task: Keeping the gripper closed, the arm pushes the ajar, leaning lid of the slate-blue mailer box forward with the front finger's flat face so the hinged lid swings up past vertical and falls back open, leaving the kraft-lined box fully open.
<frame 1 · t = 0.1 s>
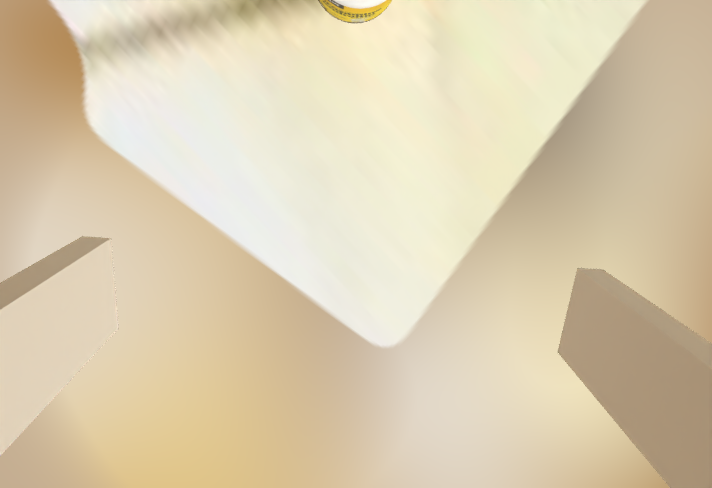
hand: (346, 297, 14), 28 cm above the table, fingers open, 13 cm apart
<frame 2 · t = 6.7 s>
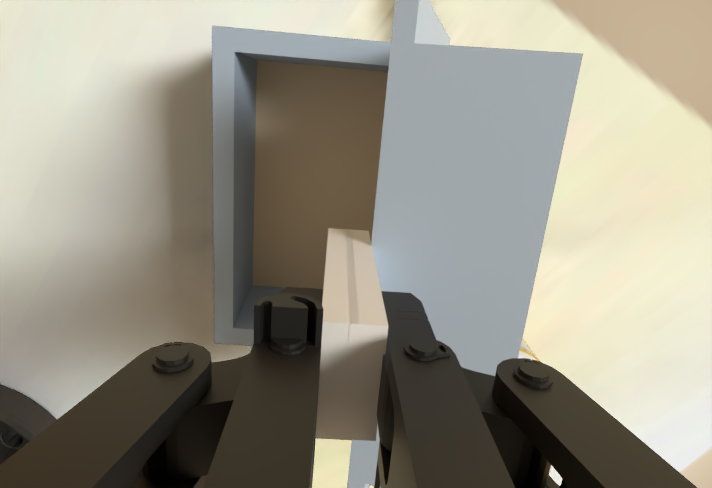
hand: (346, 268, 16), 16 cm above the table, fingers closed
mailer box: (319, 182, 31), on the table
lid: (450, 254, 19), point 13 cm above the table, hinge at 73.5°, touching gripper
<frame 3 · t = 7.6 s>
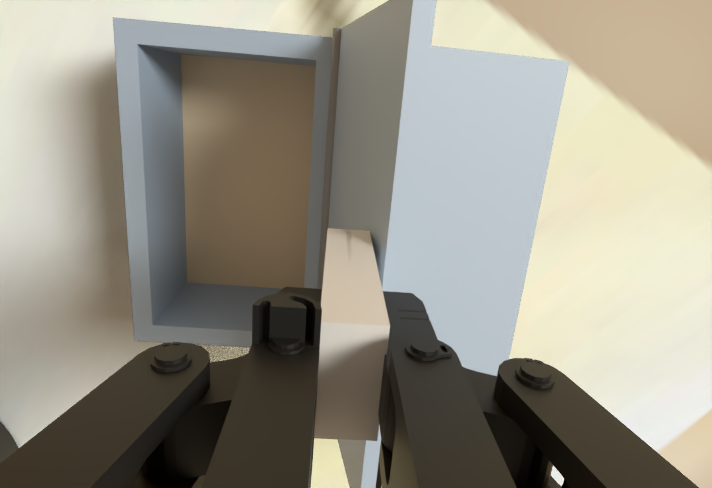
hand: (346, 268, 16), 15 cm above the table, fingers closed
mailer box: (253, 178, 30), on the table
lid: (399, 245, 19), point 12 cm above the table, hinge at 100.7°, touching gripper
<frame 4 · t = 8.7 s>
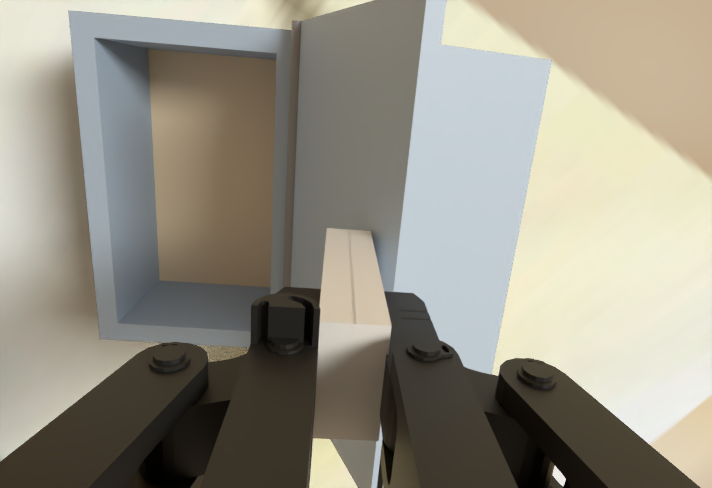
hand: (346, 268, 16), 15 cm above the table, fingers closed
mailer box: (224, 175, 30), on the table
lid: (377, 237, 20), point 11 cm above the table, hinge at 113.8°, touching gripper
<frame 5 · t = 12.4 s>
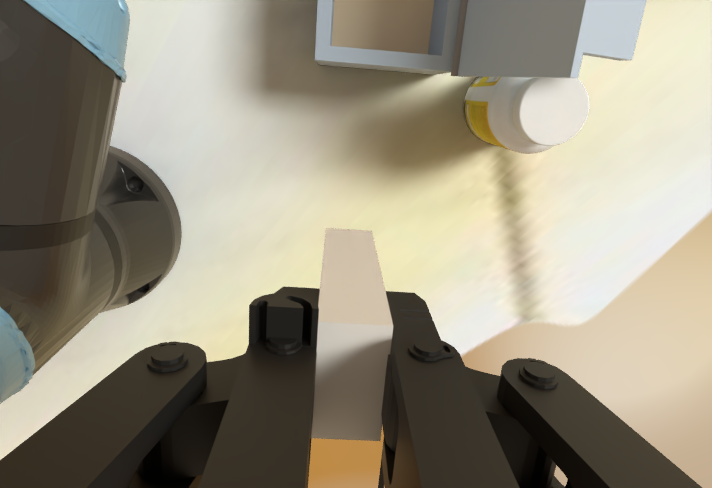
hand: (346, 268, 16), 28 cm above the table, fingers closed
pill bottle: (497, 105, 42), on the table
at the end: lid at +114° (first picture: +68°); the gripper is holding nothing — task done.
